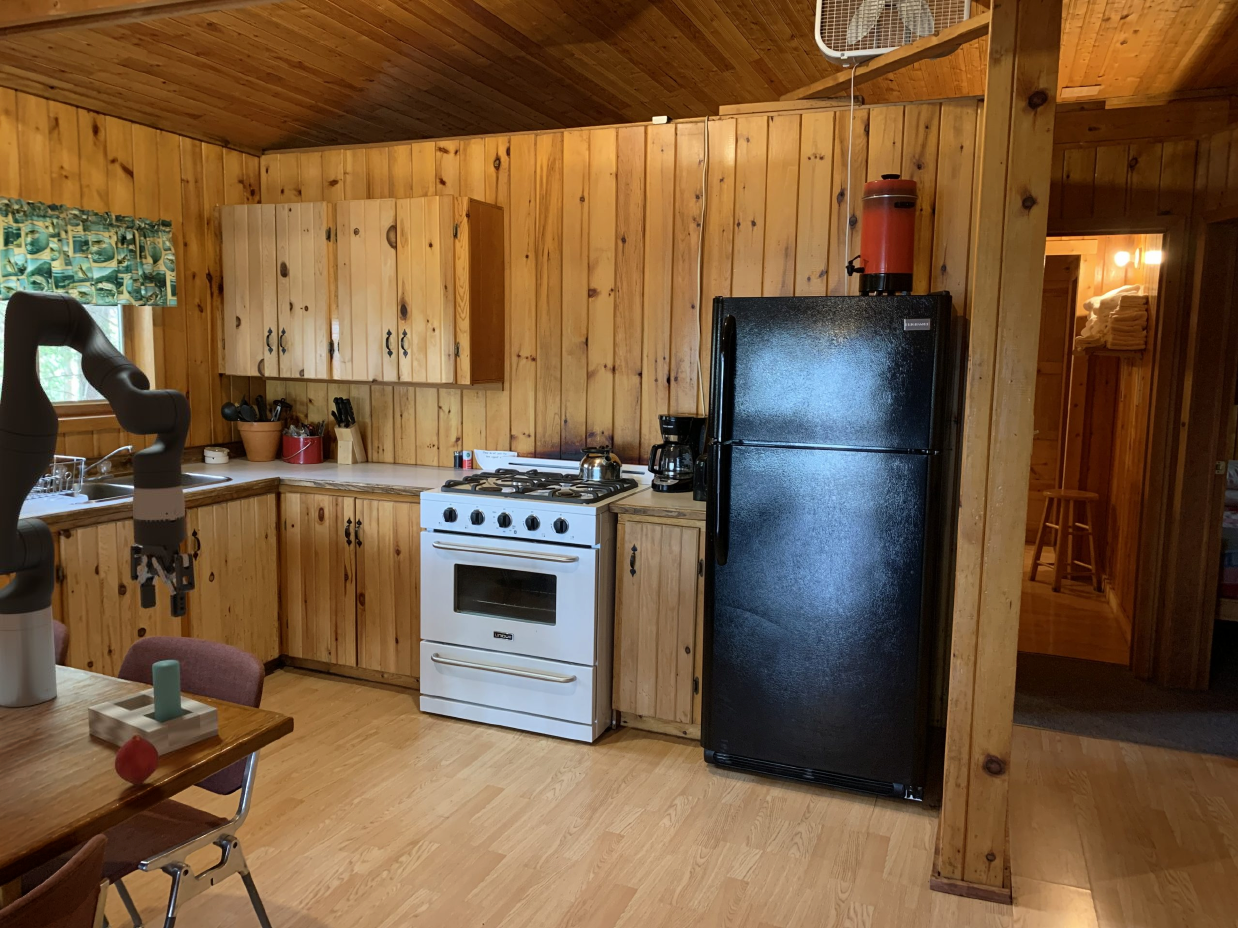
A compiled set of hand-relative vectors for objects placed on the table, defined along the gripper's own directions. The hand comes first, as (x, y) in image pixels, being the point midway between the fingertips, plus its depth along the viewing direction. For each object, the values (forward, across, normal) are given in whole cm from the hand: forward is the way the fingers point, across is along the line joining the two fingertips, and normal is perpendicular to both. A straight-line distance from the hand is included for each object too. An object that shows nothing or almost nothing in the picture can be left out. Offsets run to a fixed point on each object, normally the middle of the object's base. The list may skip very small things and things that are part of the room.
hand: (163, 611), depth 154 cm
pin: (+21, 0, 0) cm, 21 cm away
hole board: (+22, -4, 0) cm, 22 cm away
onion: (+22, +12, -12) cm, 28 cm away
